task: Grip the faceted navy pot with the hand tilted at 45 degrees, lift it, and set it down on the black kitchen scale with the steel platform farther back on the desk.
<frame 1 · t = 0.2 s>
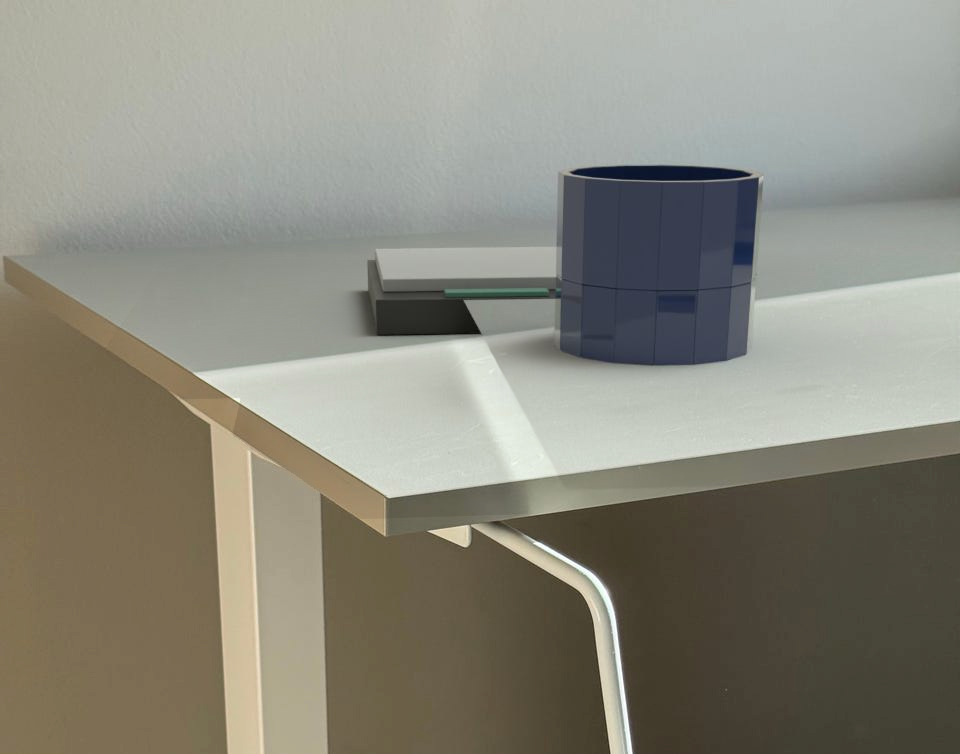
faceted navy pot: (650, 384, 73), on the table
scale: (483, 309, 92), on the table
black curved arch: (719, 250, 119), on the table
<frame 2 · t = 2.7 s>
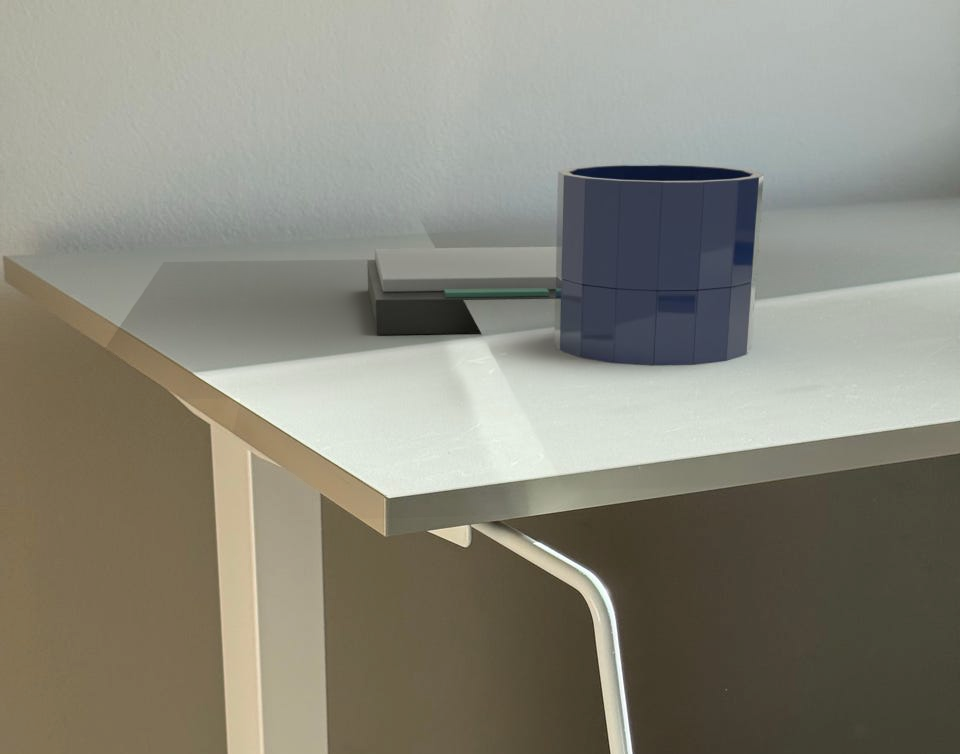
nothing on the table moved.
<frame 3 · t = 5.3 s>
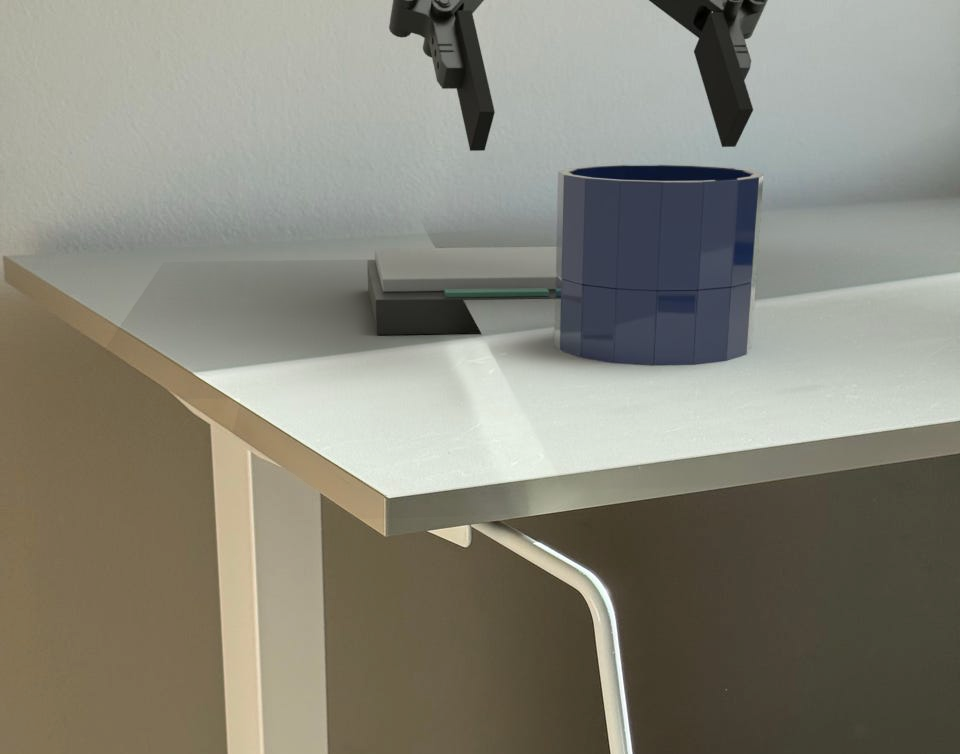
hand: (612, 131, 74), 11 cm above the table, tool tilted 45°, fingers open, 13 cm apart
nothing on the table moved.
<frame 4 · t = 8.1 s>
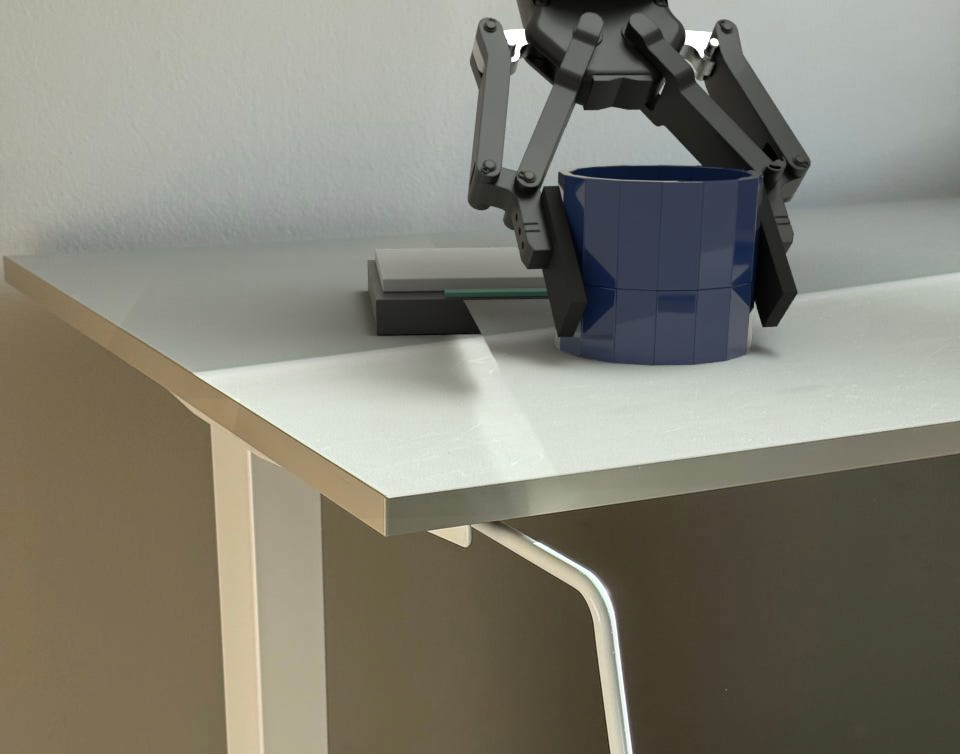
hand: (678, 315, 68), 4 cm above the table, tool tilted 45°, fingers closed on faceted navy pot, 10 cm apart
faceted navy pot: (650, 384, 73), on the table, touching gripper
everything else where it was.
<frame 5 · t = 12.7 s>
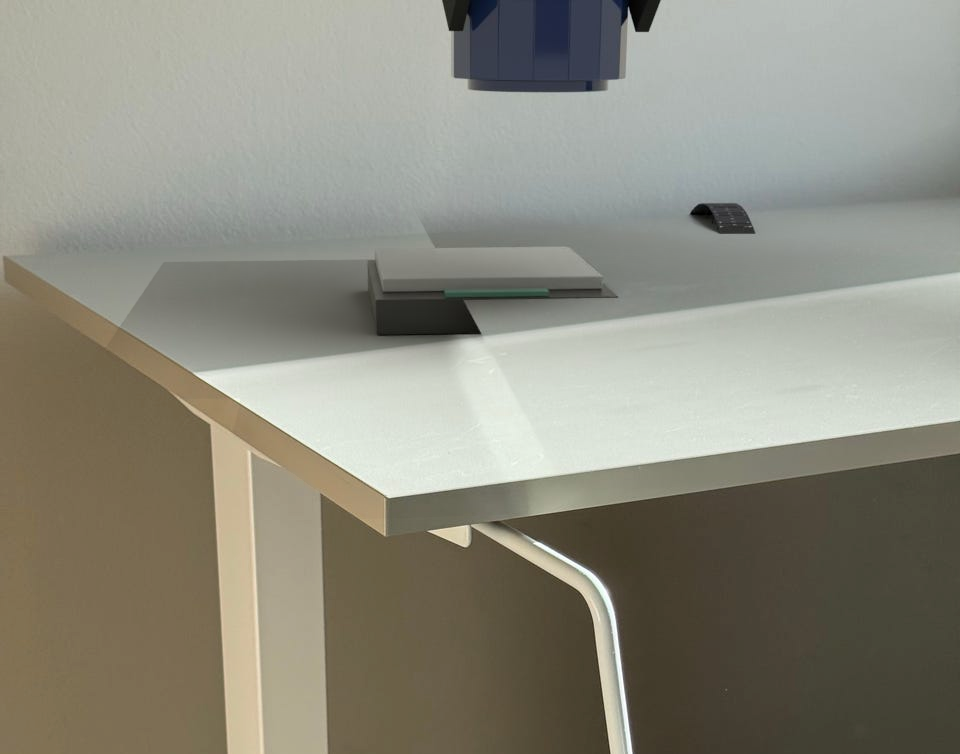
hand: (556, 11, 76), 17 cm above the table, tool tilted 45°, fingers closed on faceted navy pot, 10 cm apart
faceted navy pot: (537, 89, 81), point 13 cm above the table, touching gripper
everything else where it was.
when the fingers open (7 cm above the table, at t = 17.1 s): faceted navy pot stays where it is, resting on scale.
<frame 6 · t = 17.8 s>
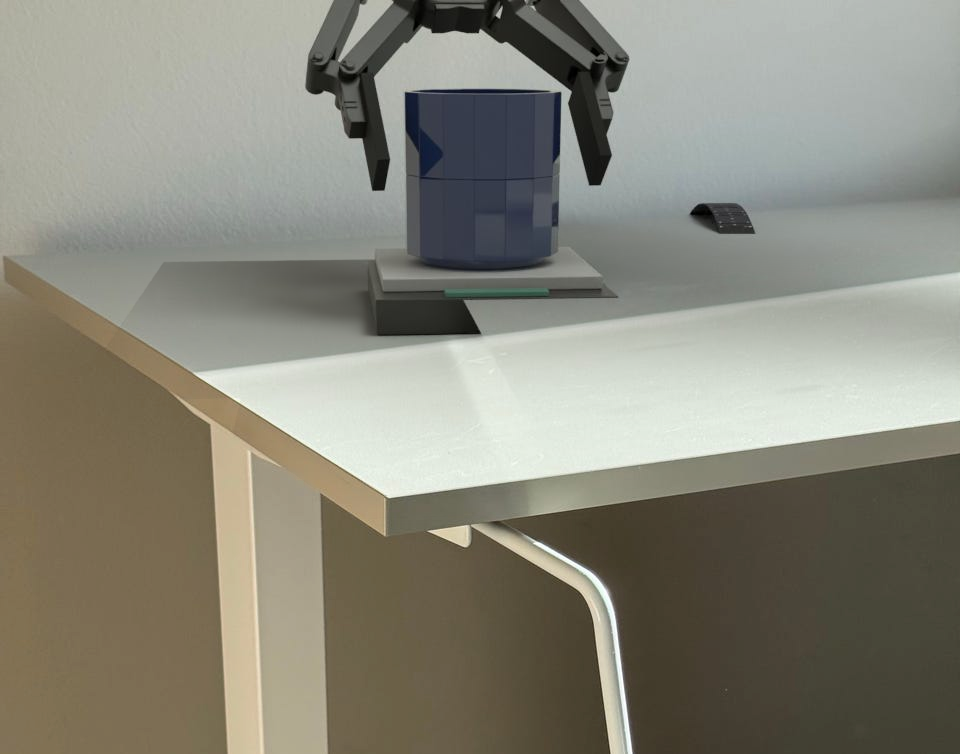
hand: (492, 173, 88), 8 cm above the table, tool tilted 45°, fingers open, 13 cm apart
faceted navy pot: (481, 261, 92), point 3 cm above the table, touching scale
everything else where it was.
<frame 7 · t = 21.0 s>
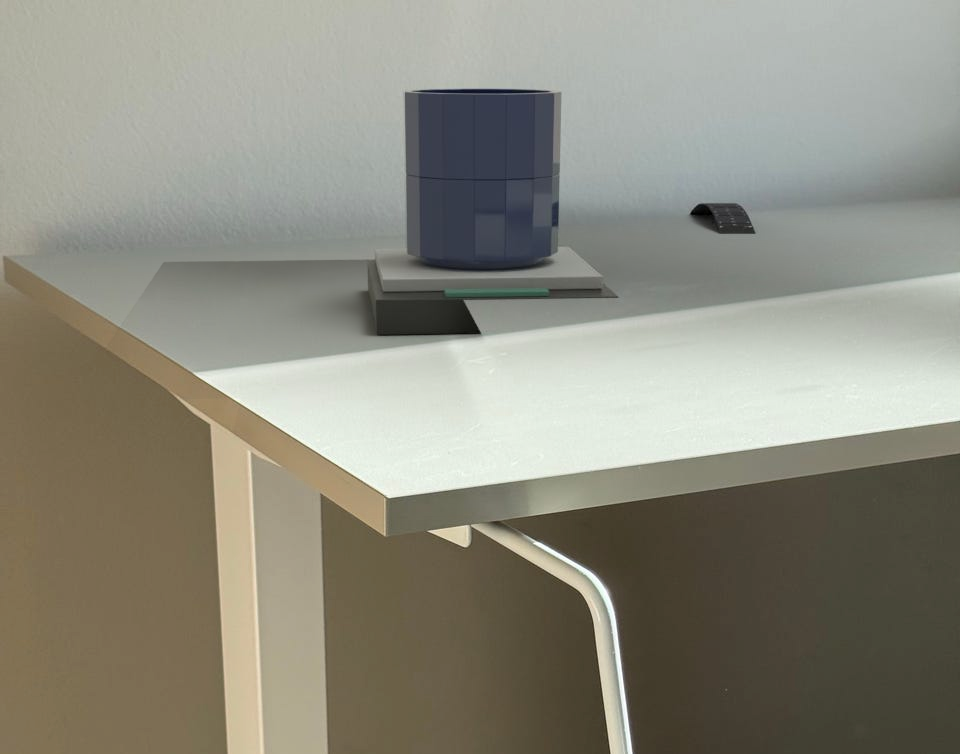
nothing on the table moved.
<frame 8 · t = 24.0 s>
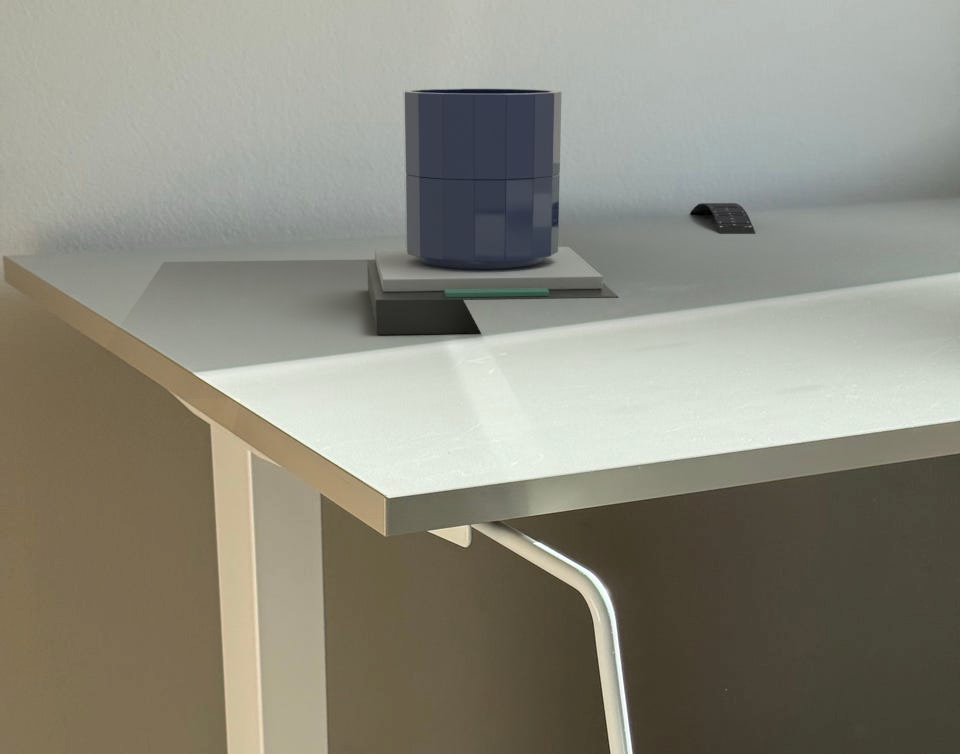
nothing on the table moved.
at the end: faceted navy pot inside the target area on the scale (0.1 cm from its centre), point 2.8 cm above the scale's base; faceted navy pot tilted 0°; the gripper is holding nothing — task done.
